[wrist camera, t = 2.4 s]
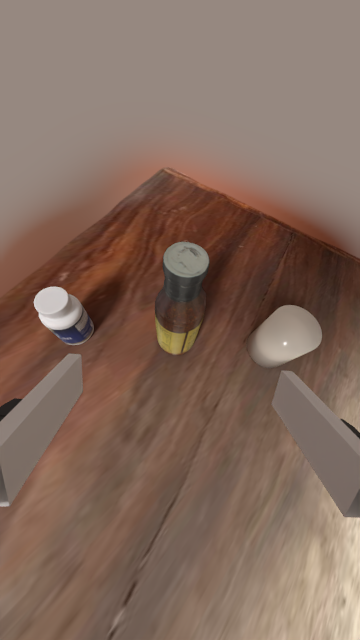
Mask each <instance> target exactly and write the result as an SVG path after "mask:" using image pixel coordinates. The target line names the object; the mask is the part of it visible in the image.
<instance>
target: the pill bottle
mask: <svg viewBox="0 0 360 640" xmlns="http://www.w3.org/2000/svg"><path fill="white" fill-rule="evenodd" d="M34 306H35V308H36V310H37V311H38V312H39V318H40V320H41V322H42V323H43V324H44V325H45V326H46V327H47V328H48V329H49V330H50V331H52V332H53V333H54V334H55V335H56V336H57V337H58V338H60V339H61V340H62V341H63V342H65V343H67V344H70V345H78V344H82V343H84V342H86V341H87V340H88V339H89V338H90V337H91V335H92V333H93V330H94V325H93V322H92V320H91V319H90V317H89V315H88V314H87V312H86V311H85V309H84V307H83V306H82V304H81V303H80V301H79V300H78V299H77V298H76V297H74V296H72V295H70V294H68V293H67V292H66V291H65V290H64V289H62V288H60V287H48V288H45V289H43V290H42V291H40V292H39V293H38V294H37V295H36V297H35V299H34Z"/></svg>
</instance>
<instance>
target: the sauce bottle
mask: <svg viewBox="0 0 360 640" xmlns="http://www.w3.org/2000/svg"><path fill="white" fill-rule="evenodd" d="M208 268H209V257H208V254H207V253H206V251H205V250H204V249H203V248H202V247H200V246H198V245H196V244H193V243H189V242H178V243H175V244H173V245H172V246H170V247H169V248H167V250H166V251H165V253H164V256H163V271H164V274H165V280H164V286H163V288H162V290H161V291H160V292H159V294H158V296H157V298H156V301H155V321H156V330H157V339H158V342H159V344H160V346H161V347H162V349H163V350H164V351H165V352H166V353H168V354H172V355H182V354H184V353H186V352H187V351H188V350H189V349H190V348H191V347H192V346H193V344H194V341H195V339H196V336H197V333H198V330H199V328H200V325H201V322H202V320H203V316H204V312H205V307H206V293H205V292H204V290H203V288H202V281H203V279H204V278H205V277H206V275H207V273H208Z"/></svg>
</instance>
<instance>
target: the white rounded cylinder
mask: <svg viewBox="0 0 360 640" xmlns="http://www.w3.org/2000/svg"><path fill="white" fill-rule="evenodd" d="M321 339H322V331H321V328H320V325H319V323H318V321H317V320H316V319H315V317H314V316H313V315H312V314H311V313H309V312H308V311H307V310H305V309H303V308H301V307H298V306H294V305H285V306H282V307H280V308H278V309H277V310H276V311H275V312H274V313H273V314H272V315H270V316H269V317H268V318H267V319H266V320H265V321H264V322H263V323H262V324H261V325H260V326H259V327H258V328H257V329H256V330H255V331H254V332H252V333H251V334H250V336H249V337H248V339H247V351H248V353H249V355H250V357H251V358H252V360H253V361H254V362H255V363H257V364H258V365H260V366H262V367H265V368H275V367H278V366H280V365H282V364H284V363H286V362H288V361H291V360H293V359H295V358H297V357H299V356H301V355H303V354H305V353H308V352H310V351H312V350H314V349H316V348H317V347H318V346H319V344H320V342H321Z"/></svg>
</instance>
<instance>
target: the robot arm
mask: <svg viewBox="0 0 360 640" xmlns="http://www.w3.org/2000/svg"><path fill="white" fill-rule="evenodd" d="M82 392H83V384H82V360H81V355H80V354H68V355H67V356H66V357H65V358H64V359H63V360H62V361H61V362H60V363H59V364H58V365H57V366H56V367H55V368H54V369H53V370H52V371H51V372H50V373H49V374H48V375H47V376H46V377H45V378H44V379H43V380H42V381H41V382H40V383H39V384H38V385H37V386H36V387H35V388H34V389H33V390H32V391H31V392H30V393H29V394H28V395H27V396H26V397H25V398H24V399H15V398H14V399H13V400H11V401H9V402H7V403H6V404H4V405H2V406H1V407H0V506H10V505H11V503H12V502H13V500H14V499H15V497H16V495H17V494H18V492H19V491H20V489H21V488H22V486H23V484H24V483H25V481H26V480H27V478H28V477H29V475H30V473H31V472H32V470H33V469H34V467H35V466H36V464H37V462H38V461H39V459H40V458H41V456H42V455H43V453H44V451H45V450H46V448H47V447H48V445H49V444H50V442H51V440H52V439H53V437H54V436H55V434H56V433H57V431H58V429H59V428H60V426H61V425H62V423H63V422H64V420H65V418H66V417H67V415H68V414H69V412H70V411H71V409H72V407H73V406H74V404H75V403H76V401H77V400H78V398H79V396H80V395H81V393H82ZM272 406H273V407H274V409H275V410H276V412H277V413H278V415H279V417H280V418H281V420H282V421H283V423H284V424H285V426H286V427H287V429H288V430H289V432H290V434H291V435H292V437H293V438H294V440H295V441H296V443H297V444H298V446H299V448H300V449H301V451H302V452H303V454H304V455H305V457H306V458H307V460H308V462H309V463H310V465H311V466H312V468H313V469H314V471H315V472H316V474H317V475H318V477H319V479H320V480H321V482H322V483H323V485H324V486H325V488H326V489H327V491H328V493H329V494H330V496H331V497H332V499H333V500H334V502H335V503H336V505H337V506H338V508H339V510H340V511H341V513H342V514H343V516H344V517H360V433H359V432H358V431H357V430H356V429H355V428H354V427H353V426H352V425H350V424H349V423H347V422H346V421H344V420H343V419H339V418H338V417H337V416H336V415H335V414H334V413H333V412H332V411H331V410H330V409H329V408H328V407H327V406H326V405H325V404H324V403H323V402H322V401H321V400H320V399H319V398H318V397H317V396H316V395H315V394H314V393H313V392H312V391H311V390H310V389H309V388H308V387H307V386H306V385H305V383H304V382H303V381H302V380H301V379H300V378H299V377H298V376H297V375H296V374H295V373H294V372H293V371H281V374H280V378H279V381H278V384H277V388H276V391H275V394H274V398H273V401H272Z"/></svg>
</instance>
